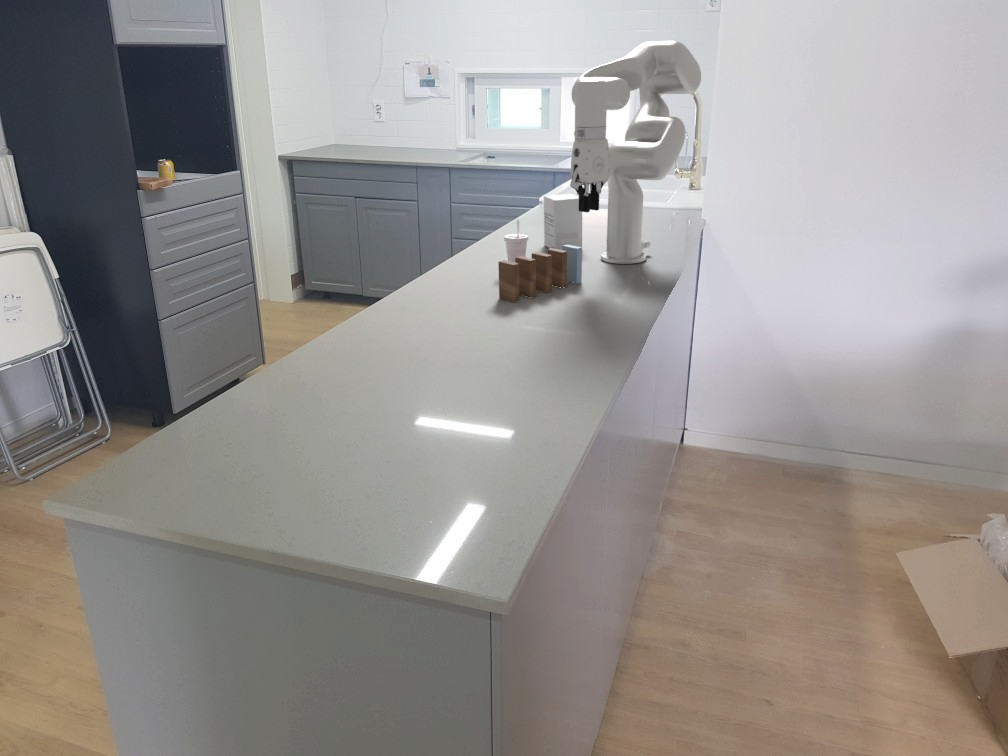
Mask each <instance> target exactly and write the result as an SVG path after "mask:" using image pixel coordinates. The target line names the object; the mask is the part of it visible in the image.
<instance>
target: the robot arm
mask: <svg viewBox="0 0 1008 756" xmlns="http://www.w3.org/2000/svg"><path fill="white" fill-rule="evenodd" d="M701 82H702V71H701V68H700V64H699V63H698V61H697V60H696V58H695V57H694V55H693V54H692V52H691V51H690V50H689V49H688V47H687V46H686V45H685V44H683V43H682V42H680V41H678V40H661V41H660V40H659V41H657V40H656V41H652V40H651V41H645V42H643V43H641V44H639V45H638V46H636V47H635V48H633V50H631V51H630V52H628V53H627V54H626V55H624V56H623V57H622V58H618V59H616V60H612V61H611V62H610V61H609V62H608V63H607V62H606V63H605V64H601V65H598V66H596V67H593V68H590V69H589V70H586V71H585V72H583V74H582V75H580V76H579V77H578V78H577V79H576V81H575V82H574V83H573V86H572V89H571V100H572V101H571V102H572V103H573V105H574V131H573V136H574V140H573V144H572V149H571V156H570V157H571V158H570V159H571V160H570V179H571V180H570V183H569V187H570V188H572V189H574V190H575V192H576V196H578V197H579V211H581V212H582V213H590V212H591V210H592V211H599V209H600V194H601V193H602V188H603V187H604V185H605V184H606V183H607V217H606V218H607V219H606V221H607V223H606V224H607V225H606V250H605V252H601V254H600V259H601V261H603V262H607V263H610V264H616V265H618V264H621V265H632V264H633V265H634V264H638V263H639V264H640V263H643V262H644V261H646V260H647V254H646V253H644V252H643V251H644V249H648V248H650V246H651V242H650V241H649V240H646V241H643V240H642V235H643V233H642V232H643V217H644V216H643V215H644V213H643V212H644V192H643V189H642V187H641V185H640V183H639V182H638V180H642V181H644V180H645V181H661V180H663V179H665V178H667V176H668V175H669V174H670V171H671V170H672V168H673V166H674V164H675V162H676V161H677V158H678V157H679V155H680V153H681V151H682V148H683V146H684V143H685V139H686V127H685V124H684V122H683V120H682V119H680V118H679V117H677V116H676V117H675V116H670V109H669V107H668V105H667V103H666V101H665V100H664V99H663V98H662V96H661V95H690V94H693V93H695V92H696V91H697V90H698V88H699V87H700V84H701ZM638 89H639V90H638ZM635 90H638V93H639V102H640V103H639V104H640V105H639V109H638V110H637V112H636V114H635V115H634V117H633V119H632V120H631V122H630V124H629V125H628V127H627V129H626V131H625V135H624V141H618V142H615V143H613V144H611V145H610V146H609V140H608V138H607V112H608V111H618V110H621V109H623V108H624V107H626V106H627V104H628V102H629V101H630V99H631V92H632V91H635Z"/></svg>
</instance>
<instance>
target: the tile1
mask: <svg viewBox="0 0 1008 756" xmlns="http://www.w3.org/2000/svg"><path fill="white" fill-rule="evenodd" d="M562 250H564V251H567V281H569V282H568V283H570V282H574V283H579V284H581V283H580V282H582V281H583V280H582V272H583V271H582V269H583V246H582V247H577V246H572V245H563V246H562ZM574 283H573V284H574Z"/></svg>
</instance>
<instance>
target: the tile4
mask: <svg viewBox="0 0 1008 756" xmlns="http://www.w3.org/2000/svg"><path fill="white" fill-rule="evenodd" d="M515 263H518V264H519V296H522V295H523V296H522V297H525V296H527V298H529V297H532V298H534V296H535V297H536V296H537V290H536V259H532V257H527V256H525V257H523V256H519V257H515Z"/></svg>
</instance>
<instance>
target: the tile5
mask: <svg viewBox="0 0 1008 756" xmlns="http://www.w3.org/2000/svg"><path fill="white" fill-rule="evenodd" d="M498 294H499V297H498V299H499V300H502V301H506V302H510V303H512V304H513V303H514V304H515V303H517V302H518V301H519V302H520V295H519V264H518V263H514V262H510V261H508V260H504V259H503V260H500V261H498Z"/></svg>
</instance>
